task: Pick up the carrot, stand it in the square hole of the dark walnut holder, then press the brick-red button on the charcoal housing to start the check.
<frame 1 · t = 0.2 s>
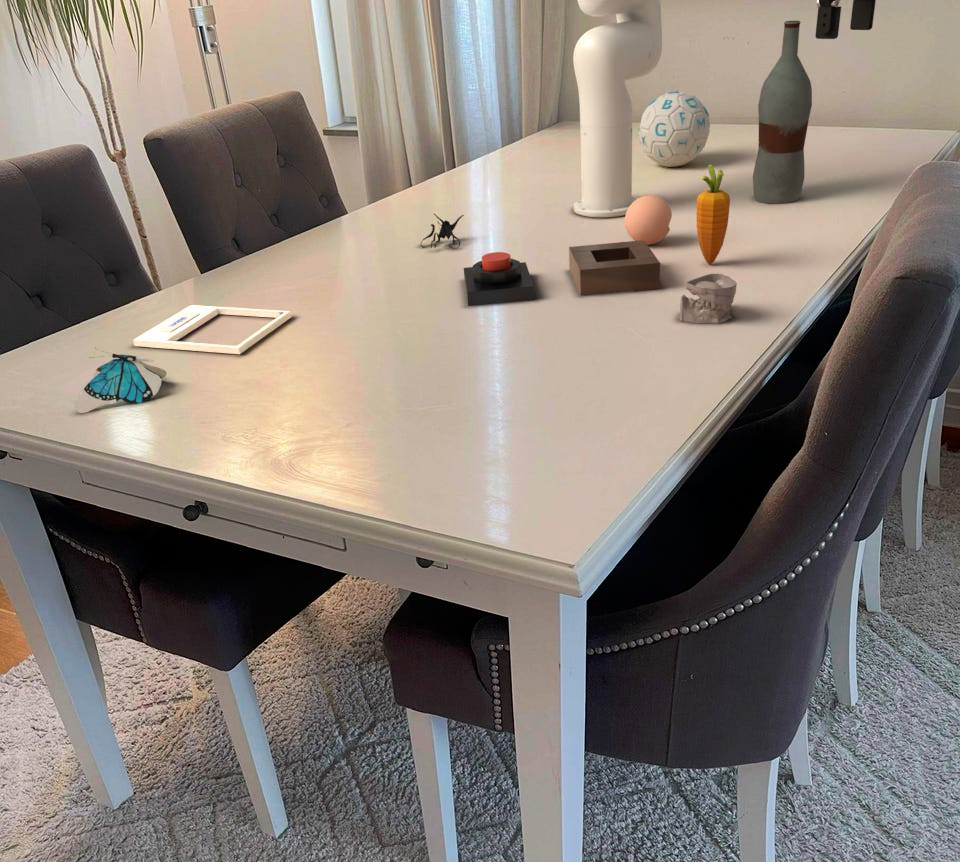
hand: (843, 34, 138), 31 cm above the table, tool pointing down, fingers open, 9 cm apart
dental mold: (708, 317, 132), on the table
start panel: (498, 290, 148), on the table
toy ball: (647, 244, 163), on the table
start button: (496, 262, 146), point 4 cm above the table, slide at 0.1 cm
holder: (613, 279, 148), on the table
decorative butterfly: (127, 394, 125), on the table
bottle: (776, 199, 181), on the table
creature: (442, 246, 171), on the table
carrot: (709, 265, 151), on the table
photo frame: (214, 332, 142), on the table
puzzle ball: (672, 166, 210), on the table
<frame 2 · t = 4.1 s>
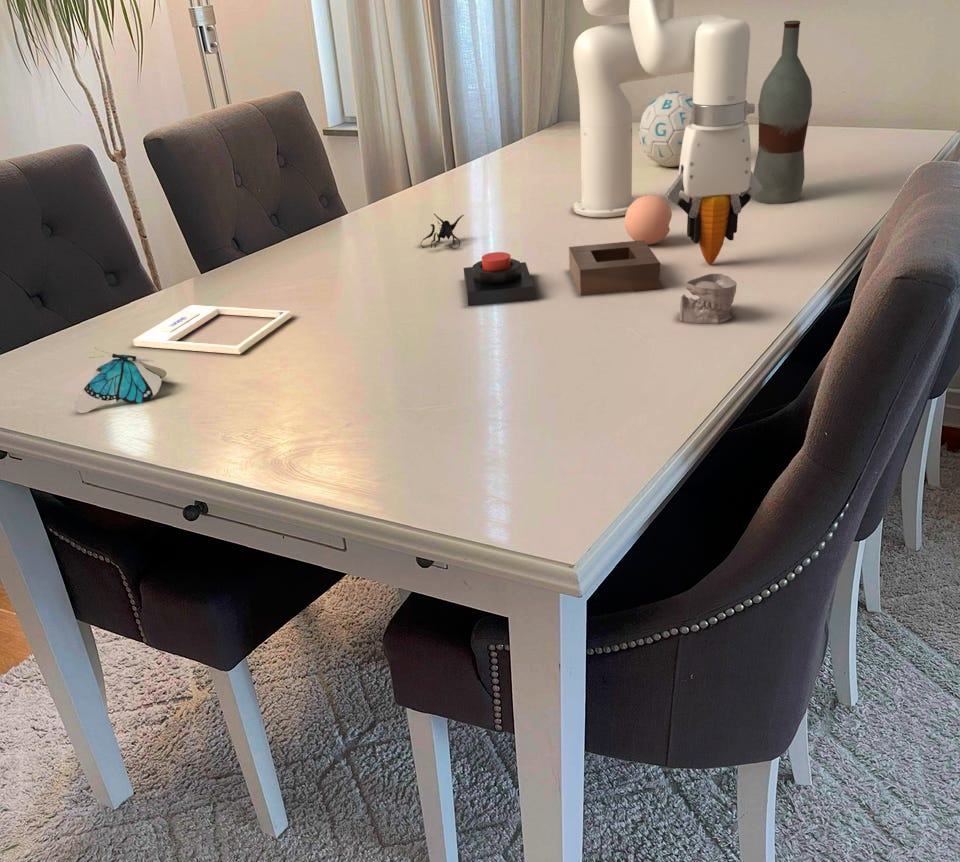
hand: (711, 238, 149), 4 cm above the table, tool pointing down, fingers closed on carrot, 4 cm apart
carrot: (709, 265, 151), on the table, touching gripper
everything else where it was.
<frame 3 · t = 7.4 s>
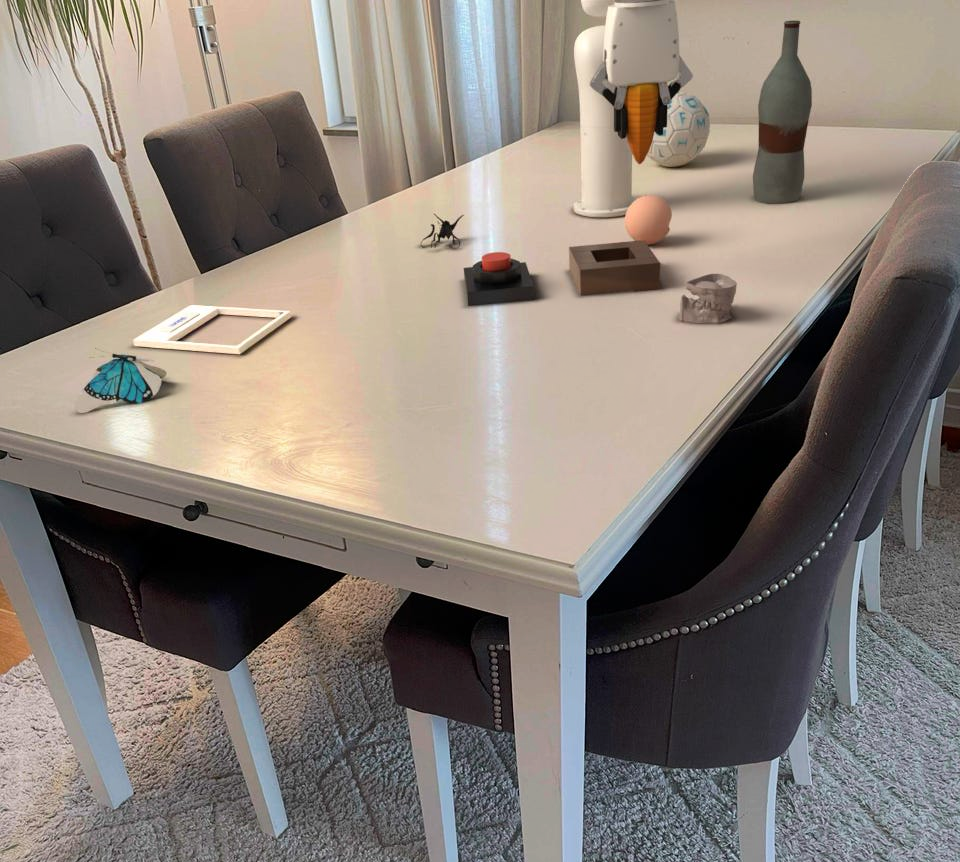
hand: (640, 133, 138), 21 cm above the table, tool pointing down, fingers closed on carrot, 4 cm apart
carrot: (639, 165, 140), point 17 cm above the table, touching gripper
everything else where it was.
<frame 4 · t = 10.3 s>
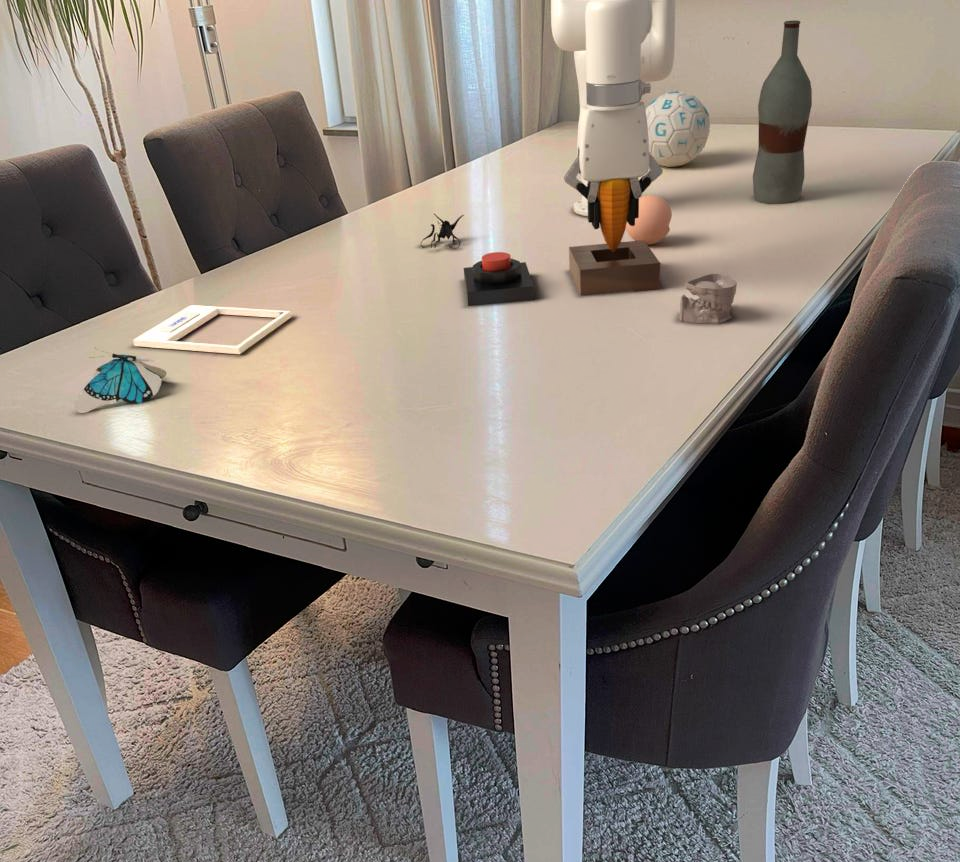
hand: (613, 223, 144), 9 cm above the table, tool pointing down, fingers closed on carrot, 4 cm apart
carrot: (613, 252, 146), point 4 cm above the table, touching gripper
everything else where it was.
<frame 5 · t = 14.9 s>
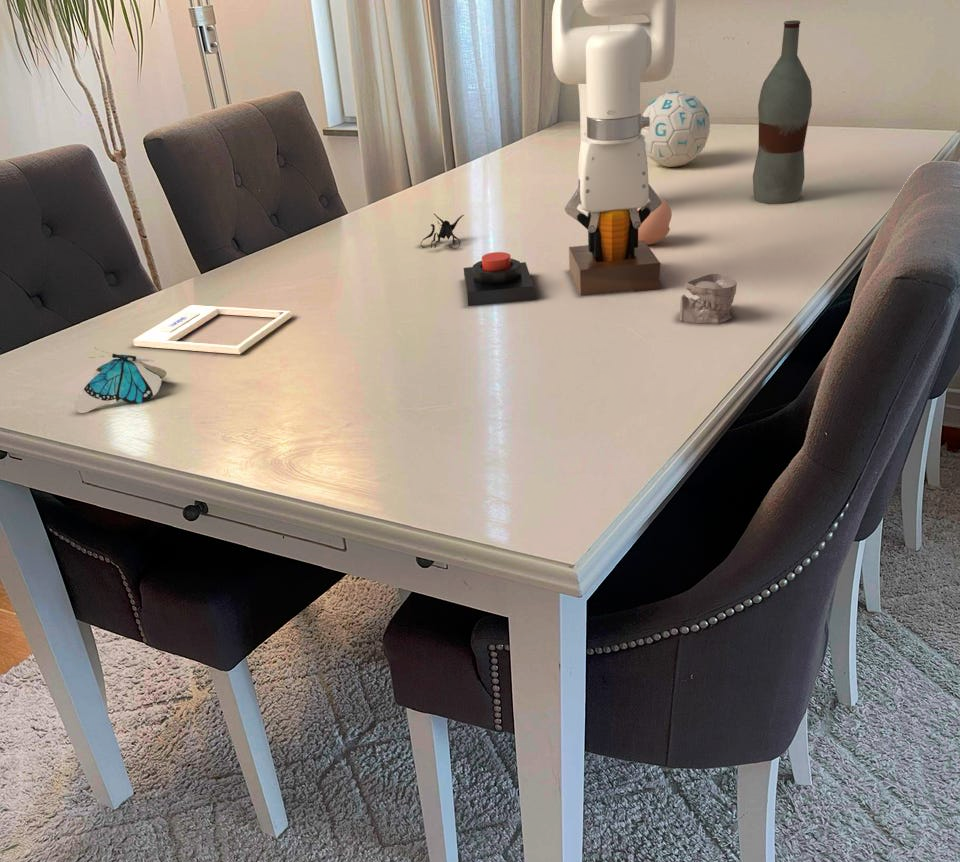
hand: (613, 253, 146), 4 cm above the table, tool pointing down, fingers closed on carrot, 4 cm apart
carrot: (613, 281, 148), resting in holder, touching gripper
everything else where it was.
when the fingers open (4 cm above the table, at t = 16.9 s): carrot stays where it is, resting in holder.
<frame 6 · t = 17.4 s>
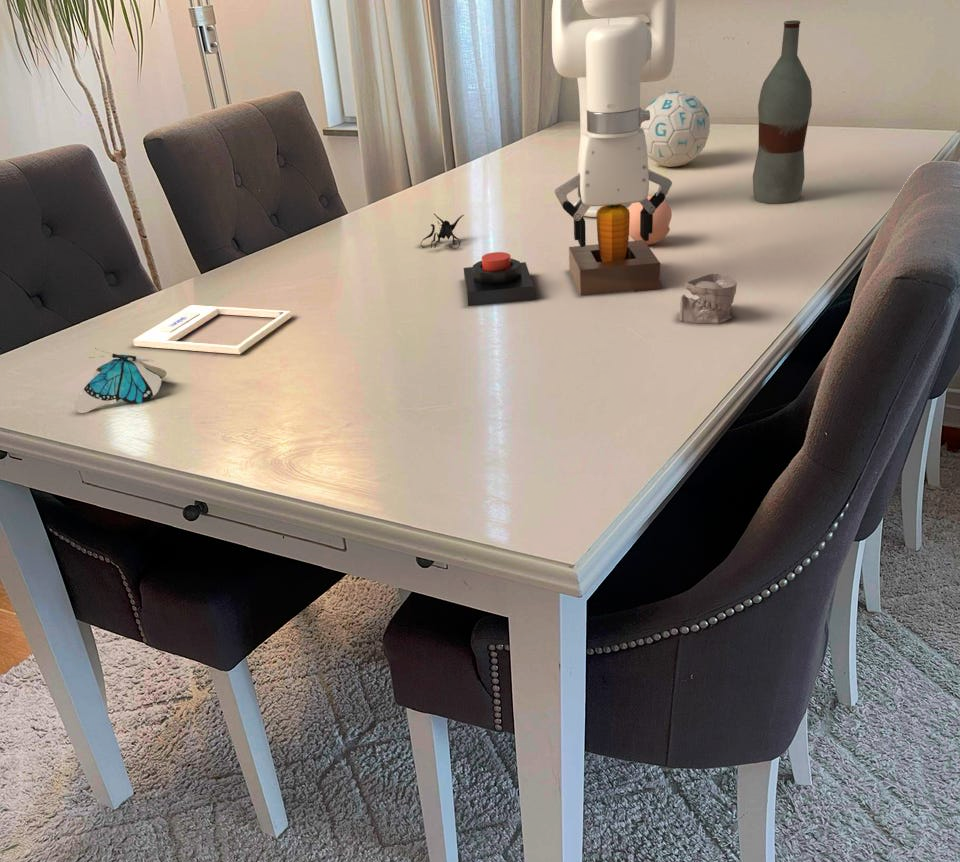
hand: (613, 241, 145), 6 cm above the table, tool pointing down, fingers open, 9 cm apart
carrot: (613, 281, 148), resting in holder
everything else where it was.
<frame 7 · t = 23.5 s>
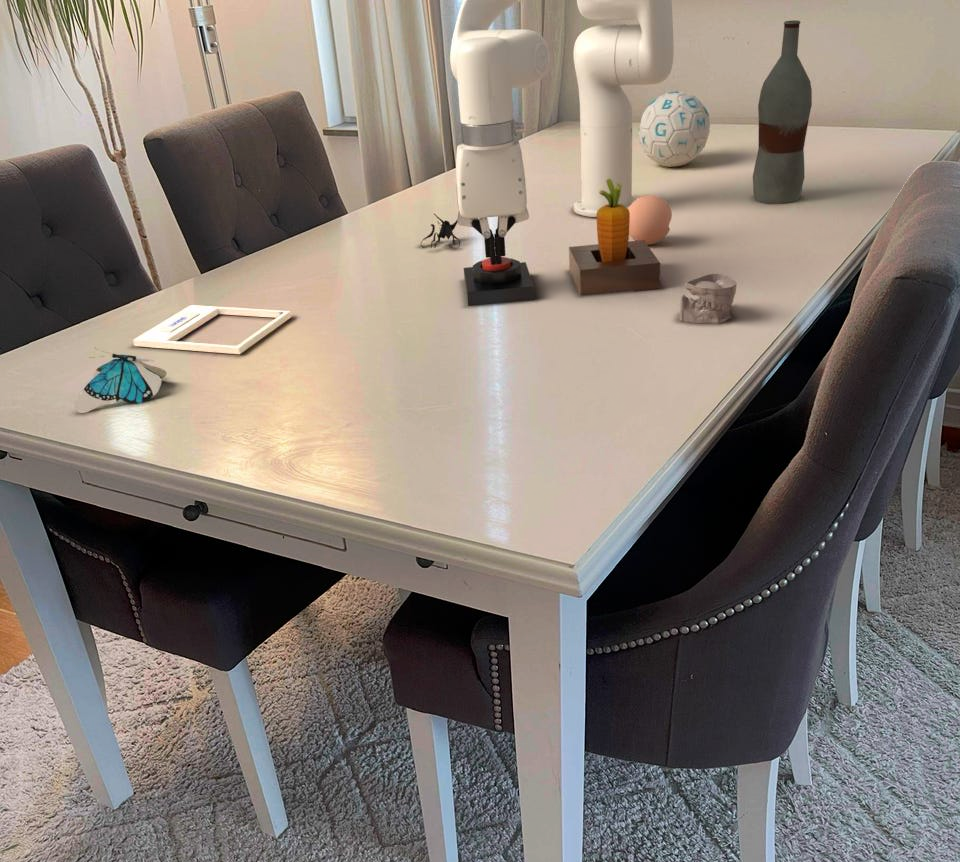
hand: (495, 261, 145), 5 cm above the table, tool pointing down, fingers closed
start button: (496, 266, 146), point 4 cm above the table, slide at -0.6 cm, touching gripper
everything else where it was.
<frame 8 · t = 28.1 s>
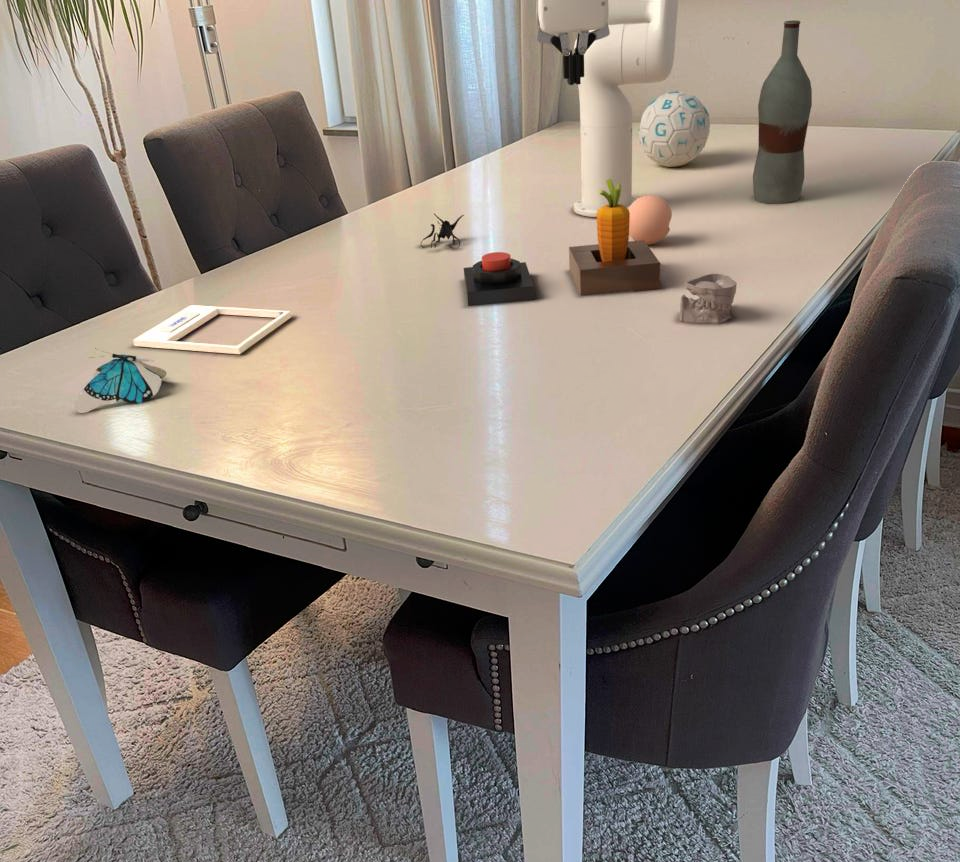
hand: (573, 83, 143), 27 cm above the table, tool pointing down, fingers closed
start button: (496, 262, 146), point 4 cm above the table, slide at 0.1 cm
everything else where it was.
at the end: carrot 0.0 cm off-centre in the holder, point 0.0 cm above the holder's base; start button pushed in 1.1 cm at the most during the clip, back to where it started at the end; start button slide at 0.1 cm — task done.
